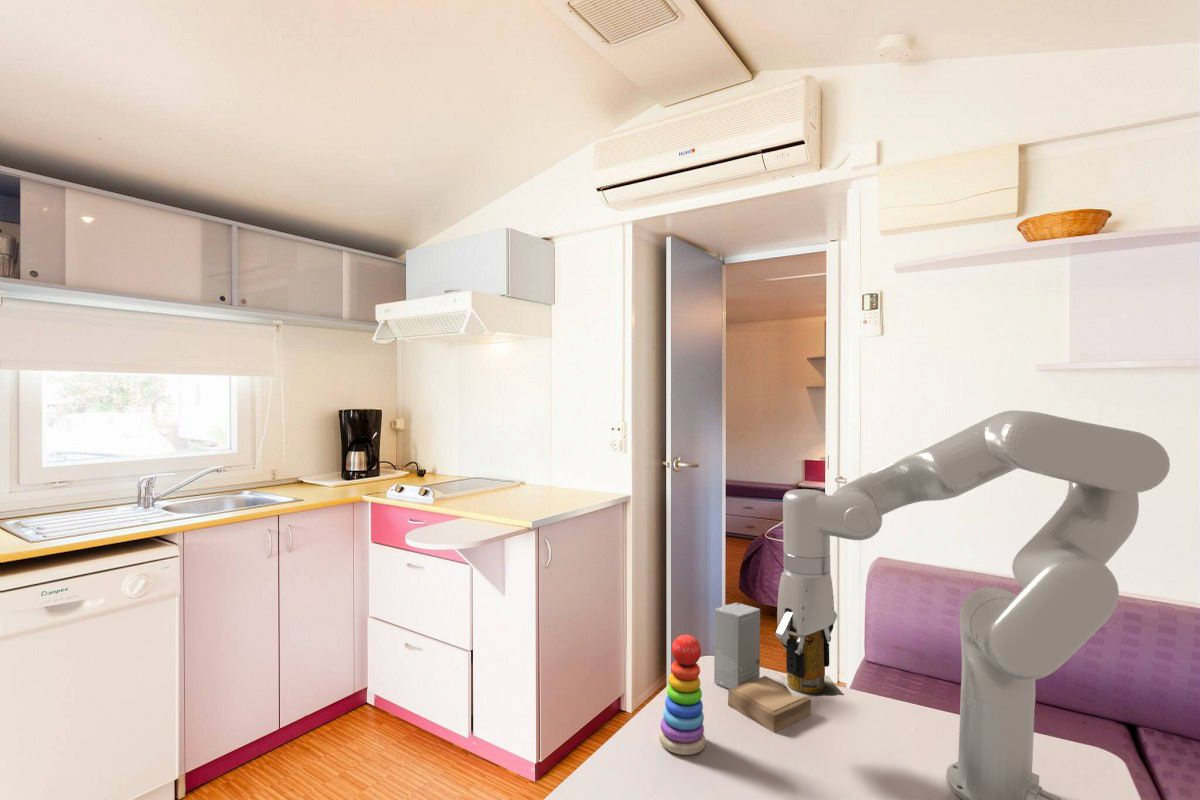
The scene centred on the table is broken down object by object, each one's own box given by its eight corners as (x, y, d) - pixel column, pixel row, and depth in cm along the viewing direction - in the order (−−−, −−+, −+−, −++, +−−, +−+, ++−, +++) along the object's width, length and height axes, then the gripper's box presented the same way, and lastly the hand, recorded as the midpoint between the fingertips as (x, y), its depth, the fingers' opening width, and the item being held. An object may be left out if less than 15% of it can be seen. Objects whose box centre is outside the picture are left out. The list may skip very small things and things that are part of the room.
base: (810, 714, 113) (811, 698, 113) (773, 732, 107) (774, 715, 107) (764, 690, 122) (765, 675, 122) (727, 705, 116) (728, 689, 116)
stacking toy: (704, 761, 98) (708, 648, 98) (656, 753, 100) (660, 643, 99) (705, 734, 106) (709, 630, 106) (661, 728, 107) (664, 625, 107)
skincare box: (738, 695, 120) (741, 617, 120) (710, 682, 125) (712, 607, 125) (761, 682, 126) (764, 608, 125) (733, 670, 131) (735, 599, 131)
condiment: (780, 677, 104) (778, 609, 104) (828, 676, 104) (826, 608, 104) (793, 698, 97) (791, 624, 97) (844, 697, 97) (843, 624, 97)
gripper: (817, 550, 108) (819, 649, 108) (755, 567, 98) (756, 675, 98) (856, 559, 102) (857, 663, 102) (793, 578, 92) (795, 693, 92)
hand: (808, 668), depth 100 cm, fingers closed on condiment, 6 cm apart
